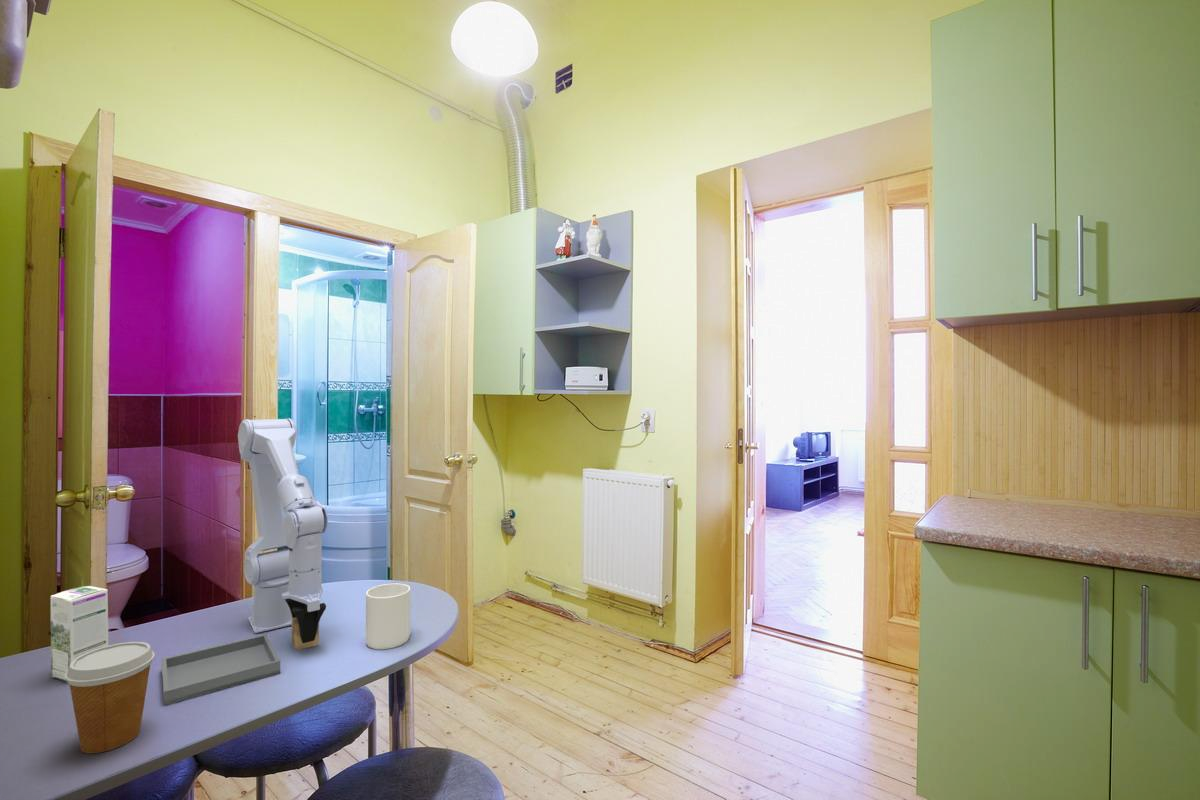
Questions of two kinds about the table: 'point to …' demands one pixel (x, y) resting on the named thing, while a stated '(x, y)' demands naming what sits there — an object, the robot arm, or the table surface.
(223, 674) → the tray
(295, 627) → the block
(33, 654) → the table surface
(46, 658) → the table surface
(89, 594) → the syrup box
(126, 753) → the table surface
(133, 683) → the disposable coffee cup
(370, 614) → the cup
